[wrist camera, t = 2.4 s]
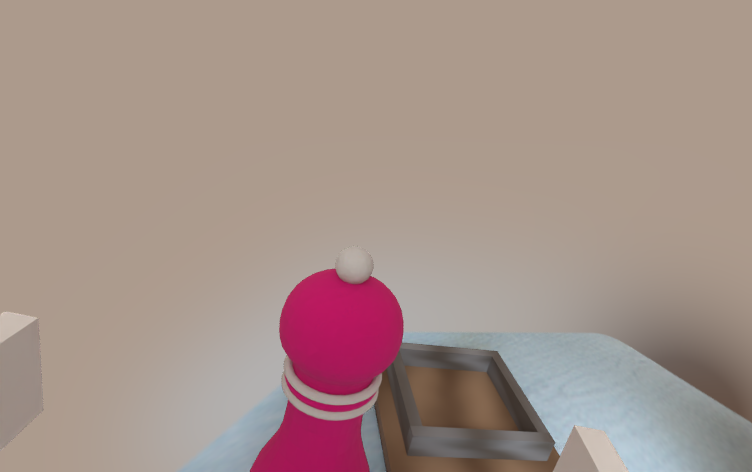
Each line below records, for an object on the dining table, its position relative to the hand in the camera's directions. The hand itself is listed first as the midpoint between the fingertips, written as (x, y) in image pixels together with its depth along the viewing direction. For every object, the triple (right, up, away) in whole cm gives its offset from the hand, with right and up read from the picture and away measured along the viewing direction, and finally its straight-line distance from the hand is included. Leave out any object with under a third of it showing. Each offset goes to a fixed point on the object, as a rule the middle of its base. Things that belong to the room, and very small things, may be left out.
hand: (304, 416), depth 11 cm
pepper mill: (-3, -15, +16) cm, 22 cm away
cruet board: (+9, -12, +30) cm, 33 cm away
